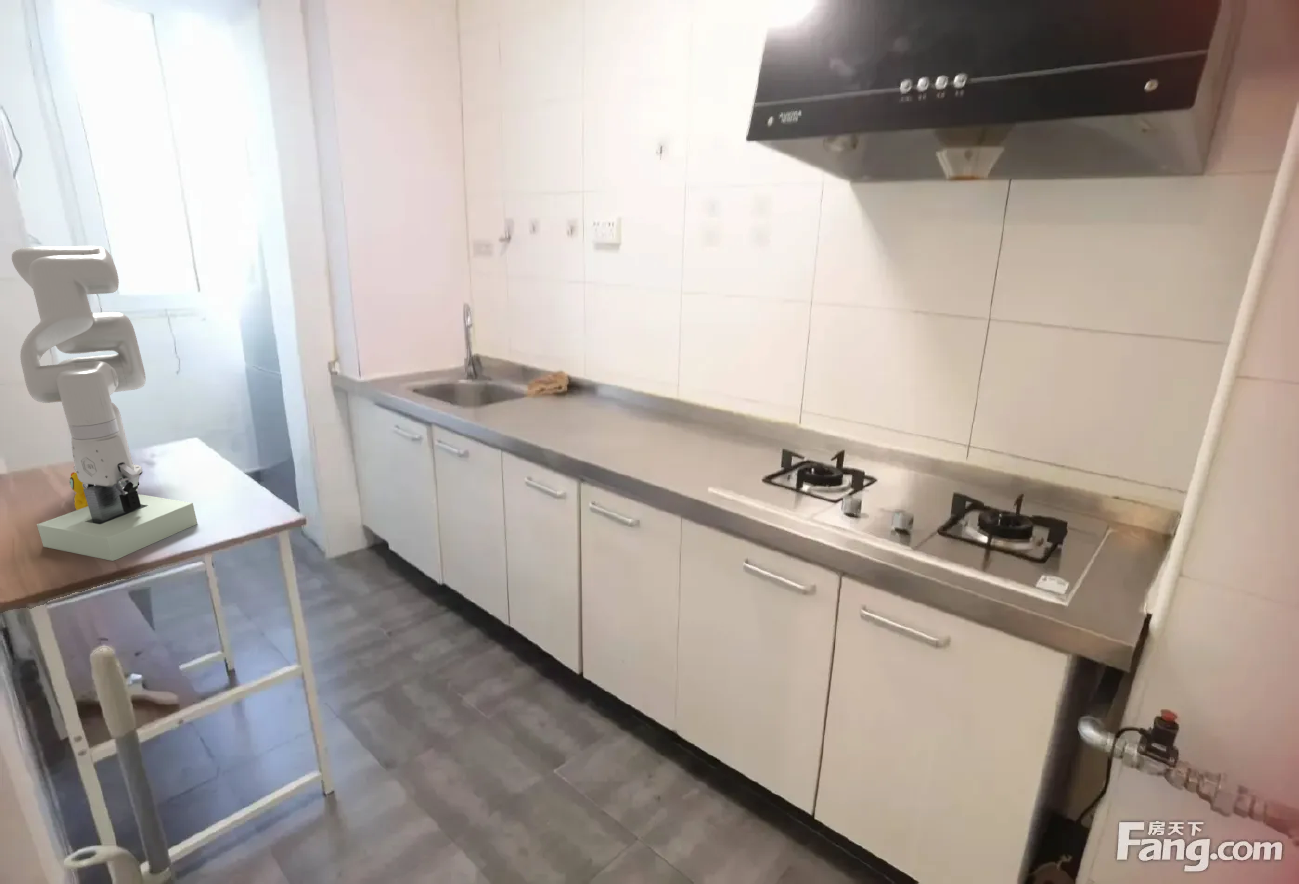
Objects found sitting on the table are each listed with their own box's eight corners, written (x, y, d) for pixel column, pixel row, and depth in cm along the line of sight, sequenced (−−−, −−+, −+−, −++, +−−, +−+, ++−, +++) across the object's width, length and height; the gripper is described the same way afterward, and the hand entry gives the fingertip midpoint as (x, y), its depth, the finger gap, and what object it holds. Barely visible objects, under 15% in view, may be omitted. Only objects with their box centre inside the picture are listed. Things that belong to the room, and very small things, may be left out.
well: (43, 546, 136) (36, 524, 134) (132, 512, 152) (126, 492, 151) (113, 560, 130) (106, 538, 129) (197, 523, 146) (192, 503, 145)
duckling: (68, 511, 153) (56, 471, 149) (96, 503, 157) (84, 464, 154) (90, 522, 147) (78, 480, 144) (118, 514, 151) (107, 473, 148)
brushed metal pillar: (98, 542, 138) (83, 489, 134) (136, 526, 145) (123, 475, 141) (109, 544, 137) (94, 490, 133) (146, 528, 144) (133, 477, 141)
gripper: (44, 430, 133) (67, 508, 138) (105, 439, 128) (127, 519, 133) (84, 420, 140) (105, 495, 145) (144, 428, 135) (163, 505, 140)
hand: (115, 507), depth 139 cm, fingers open, 9 cm apart
